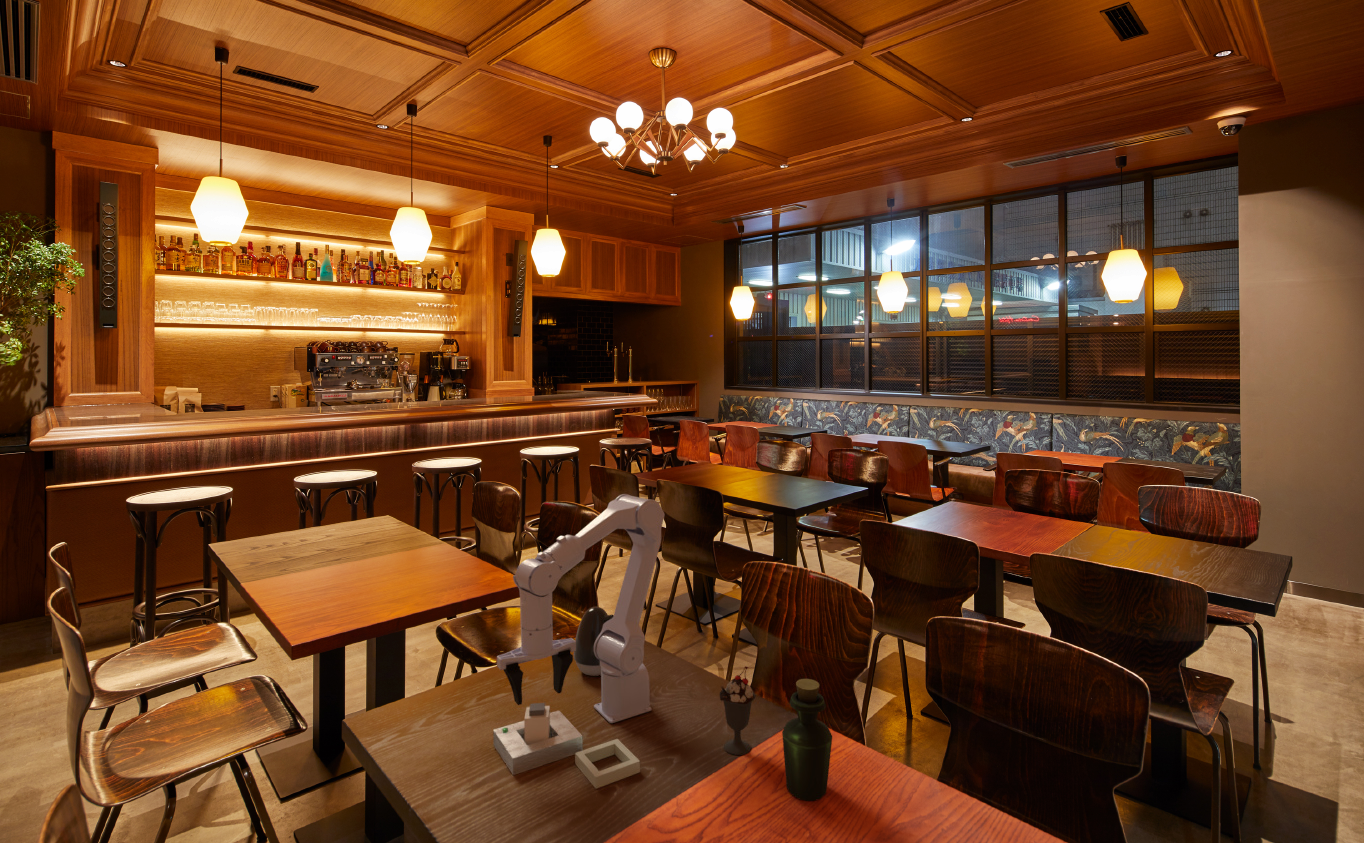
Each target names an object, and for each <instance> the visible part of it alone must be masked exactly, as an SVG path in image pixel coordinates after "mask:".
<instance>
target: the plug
mask: <svg viewBox="0 0 1364 843" xmlns="http://www.w3.org/2000/svg"><path fill="white" fill-rule="evenodd" d="M550 708H551V706H550V705H546V702H536V703H530V704H529V706H526V708H525V714H524V719H523V721H524V727H525V743H526V744H527V745H530V744H533V743H537V742H540V741H543V740H546V739H549V738H550V713H551V711H550Z"/></svg>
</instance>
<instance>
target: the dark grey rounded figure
mask: <svg viewBox="0 0 1364 843" xmlns="http://www.w3.org/2000/svg"><path fill="white" fill-rule="evenodd" d="M613 616H614V614H608V613H607V611H606V610H605V609H604V608H602V607H599V606H592V607H589V608H588V609H587V610H586V611H585V612H584V614H583V616H582V617H581V620H580V622H579V625H578V628H577V632H576V635H575V641H576V651H574V652H573V661H575V664H576V666H577V668H578V670H579V671H580V672H582V673H583V674H585V675H586V676H589V677H598V676H599V675H600V676H601V666H600V660H599V659H598V658H597V657H596V656H595V654H594V643H595V641H596V639H597V637H598V636H599V634H600V633H601V631H602V628H603V624H604V623H606V622H607V621H609V620H610V619H612V618H613Z"/></svg>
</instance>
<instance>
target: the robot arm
mask: <svg viewBox="0 0 1364 843" xmlns="http://www.w3.org/2000/svg"><path fill="white" fill-rule="evenodd" d="M665 514H666V513H665V512H664V510H663V509H662V507H661V504H660V503H659V502H658V501H657V500H655V499H651V498H650V499H648V498H644V497H639V496H634V495H630V494H627V493H622V494H619V495H618V496H617V497H616V498H615V499H613V500H611V501H610V502H608V505H607V508H606V509H604V510H603V511H602V512H601V513H600V514H598V515H597V516H596V517H595V518H594V519H593V520H591V521H590V522H589V523H588V524H587V525H586V526H584V527H583V528H582V529H581V530H580V531H578V533H576V534H575V535H572V534H566V535H559V536H558V537H557V538H556V539H555V540H556V542H554V543H553V544H551V545H550V546H548V548H546V549H544V550H543V551H540V552H538V553H537V554H536V556H535V557H533V558H527V559H525V560H523V561H521V563H520V564H519V565H518V566H517V568H516V571H515V574H514V575H513V576H512V578H513V582H514V584H515V586H516V587H517V588H518V591H519V601H520V602H519V603H520V608H519V610H520V641H521V642H520V645H521V646H520V647H517V648H514V649H513V650H510V651H508V652H506V653H502V654H499V655H497V656H496V666H497V668H498V669H499V671H503V672H504V673H505V676H506V678H507V680H508V682H509V684H510V687H511V691H512V693H513V694H512V695H513V699H514V702H515V704H516V705H517V706H520V705H523V692H522V690H523V689H522V688H523V676H524V671H522V670H521V666H520V664H524V663H527V662H532V661H535V660H542V659H545V658H549V657H551V662H552V670H553V671H552V672H553V680H552V682H553V683H552V685H553V690H554V691H555V693H557V694H558V695H559V694H562V691H563V686H564V683H565V678H566V676H567V675H566V674H567V673H568V670H569V669H570V667H571V665H572V663H573V661H574V654H572V653H574V651H576V641H575V640H576V639H575V640H574V639H573V638H572V637H570V638H564V639H555V640H553V639H554V636H553V634H554V631H553V630H554V628H553V626H554V624H553V592H554V591H555V590H556V587H558V586H557V585H558V583H559V580H560V579H562V577H563V576H564V575H565V574H566V573H567V572H569V571H570V570H571V569H573V568H575V566H577V565H578V564H579V563H580V562H582V561H583V560H584V559H585V555H586V550H588V549H589V548H591V547H592V546H593V545H595V544H597V543H598V542H600V541H601V540H602V539H604V538H605V537H607V536H609V535H610V534H611V533H614V532H615V531H616V530H625V531H626V532H627V534H628V535H629V537H630V539H631V541H632V542H633V543H632V544H633V545H632V547H631V551H630V552H631V553H630V556H629V559H628V563H627V567H626V570H625V573H624V578H623V580H622V584H621V587H620V591H619V595H618V597H617V598H618V599H617V602H616V606H615V609H614V612H613V615H614V616H613V618H612V619H610V620H609V621H607V622H606V623H604V624H603V628H602V631H601V633H600V634H599V636H598V637H597V639H596V641H595V643H594V654H595V656H596V657H597V658H598V659H599V660H600V666H601V675H600V676H601V677H600V680H601V684H600V685H601V686H600V687H601V689H600V690H601V694H600V695H601V702H599V703H598V702H597V703H596V704H594V705H593V708H594V709H595V710H596V711H597V712H598V713H599V714H600V715H601V716H602V717H604V719H605V721H608V723H609V724H613V723H617V722H620V721H625V720H626V719H629V718H632V717H635V716H639V715H642V714H645V713H648V712H651V711H652V707H651V706H650V677H649V672H648V668H647V667H646V666H645V664H644V662H643V661H644V656H645V648H644V645H645V641H646V636H645V634H644V632H643V630H642V628H641V626H640V622H641V619H642V618H641V617H642V614H643V611H644V606H645V604H646V603H645V602H646V599H647V596H648V591H649V588H650V584H651V580H652V576H653V573H654V570H655V566H656V561H657V557H658V554H659V551H660V547H661V542H662V526H663V523H664V520H665Z"/></svg>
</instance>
